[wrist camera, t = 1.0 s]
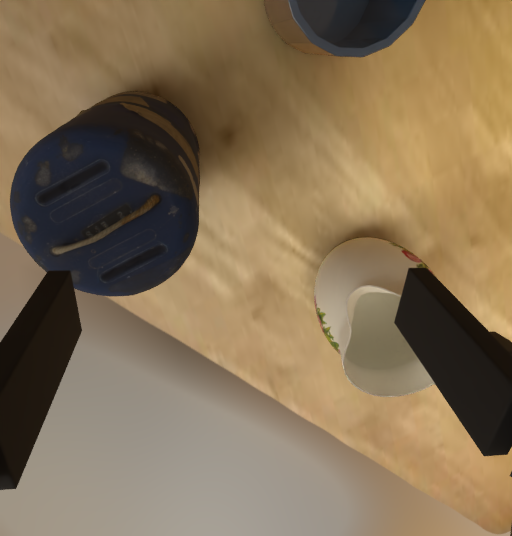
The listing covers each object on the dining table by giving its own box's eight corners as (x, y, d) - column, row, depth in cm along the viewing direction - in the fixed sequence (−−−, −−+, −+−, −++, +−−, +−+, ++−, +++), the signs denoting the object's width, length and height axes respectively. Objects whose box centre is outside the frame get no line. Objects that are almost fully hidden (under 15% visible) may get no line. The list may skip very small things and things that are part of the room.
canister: (67, 103, 33) (-57, 158, 17) (182, 75, 33) (163, 106, 17) (112, 212, 38) (46, 333, 22) (212, 188, 38) (219, 293, 22)
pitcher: (359, 349, 49) (410, 448, 37) (265, 249, 41) (291, 335, 29) (439, 295, 46) (521, 383, 34) (355, 178, 39) (423, 240, 27)
